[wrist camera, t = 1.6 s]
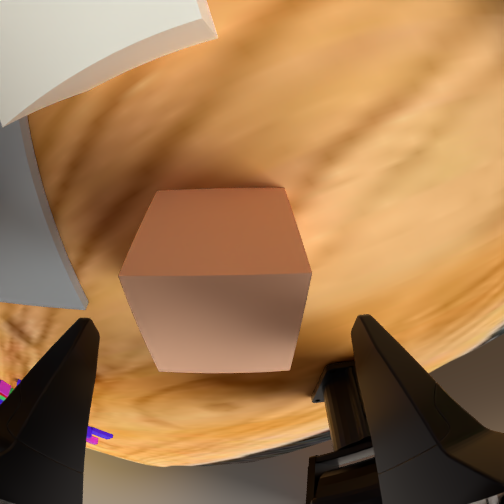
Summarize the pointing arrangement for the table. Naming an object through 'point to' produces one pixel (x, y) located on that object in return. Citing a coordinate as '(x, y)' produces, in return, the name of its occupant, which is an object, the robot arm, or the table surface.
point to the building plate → (30, 231)
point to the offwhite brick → (86, 45)
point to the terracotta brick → (218, 280)
